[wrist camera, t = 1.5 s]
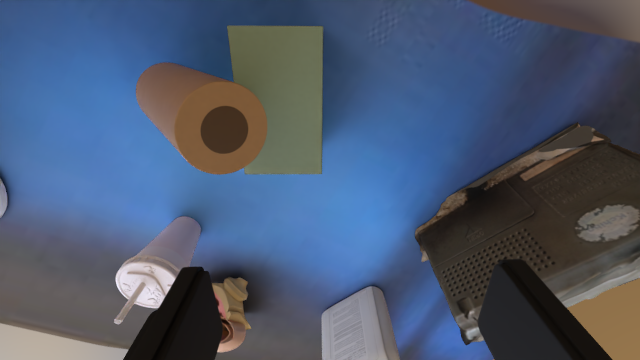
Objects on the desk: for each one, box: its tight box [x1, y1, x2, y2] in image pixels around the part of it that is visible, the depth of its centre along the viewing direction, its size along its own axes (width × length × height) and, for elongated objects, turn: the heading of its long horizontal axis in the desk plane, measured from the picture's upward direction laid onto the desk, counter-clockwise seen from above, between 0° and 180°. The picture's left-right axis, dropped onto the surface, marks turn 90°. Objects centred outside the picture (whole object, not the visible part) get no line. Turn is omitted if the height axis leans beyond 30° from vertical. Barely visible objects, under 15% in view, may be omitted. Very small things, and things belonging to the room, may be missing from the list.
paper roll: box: [136, 63, 267, 174], centre depth 24 cm, size 13×6×15 cm, turn 90°
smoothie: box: [114, 216, 201, 324], centre depth 32 cm, size 6×6×14 cm
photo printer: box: [322, 286, 400, 360], centre depth 39 cm, size 10×4×12 cm, turn 130°
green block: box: [227, 26, 323, 174], centre depth 28 cm, size 7×12×7 cm, turn 0°
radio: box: [415, 122, 640, 345], centre depth 30 cm, size 23×9×15 cm, turn 125°
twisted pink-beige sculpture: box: [212, 277, 251, 352], centre depth 41 cm, size 9×10×10 cm
